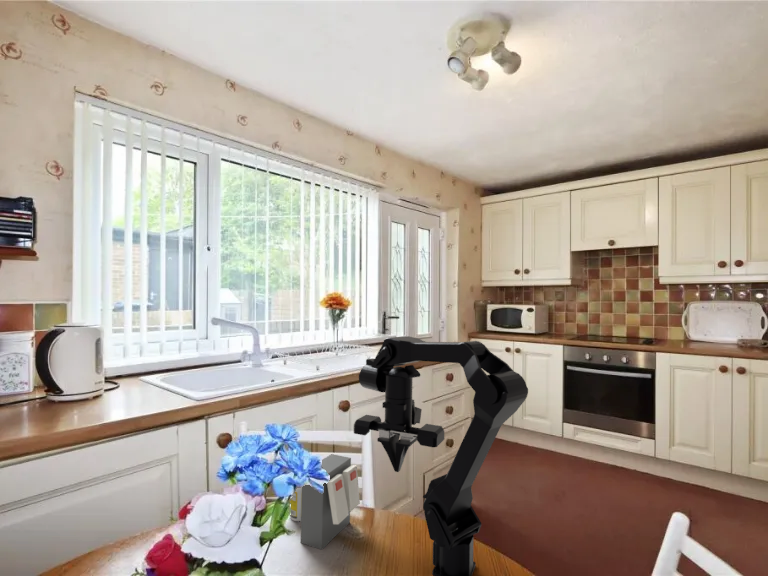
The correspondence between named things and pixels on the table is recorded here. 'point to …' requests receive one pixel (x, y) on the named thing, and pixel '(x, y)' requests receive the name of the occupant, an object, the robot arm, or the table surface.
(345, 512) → the block
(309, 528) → the switch box
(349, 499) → the block
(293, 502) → the supplement bottle
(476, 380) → the robot arm
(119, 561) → the table surface
